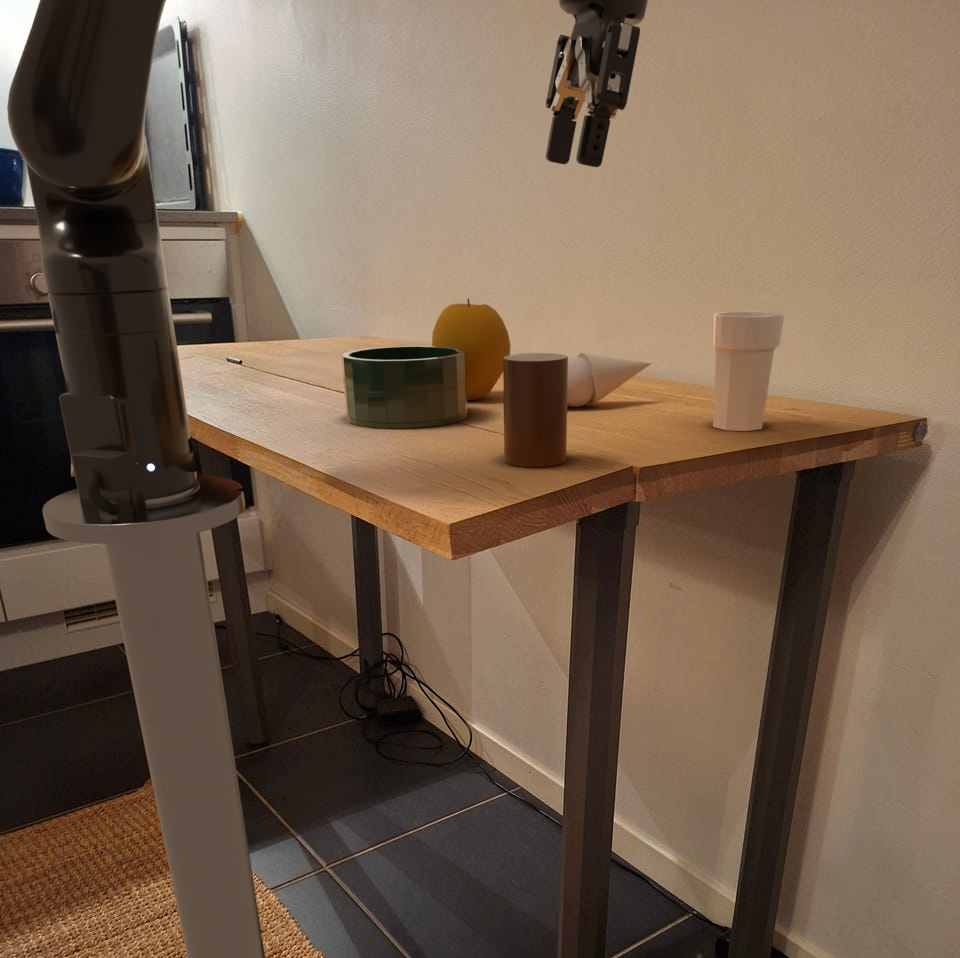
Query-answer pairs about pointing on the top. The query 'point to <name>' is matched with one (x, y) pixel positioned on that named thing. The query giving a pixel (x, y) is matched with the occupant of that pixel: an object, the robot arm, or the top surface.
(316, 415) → the top surface
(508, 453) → the brown wooden cylinder
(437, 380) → the pot
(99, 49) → the robot arm
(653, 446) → the top surface
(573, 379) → the ice cream cone
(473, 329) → the apple
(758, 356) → the cup
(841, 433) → the top surface
